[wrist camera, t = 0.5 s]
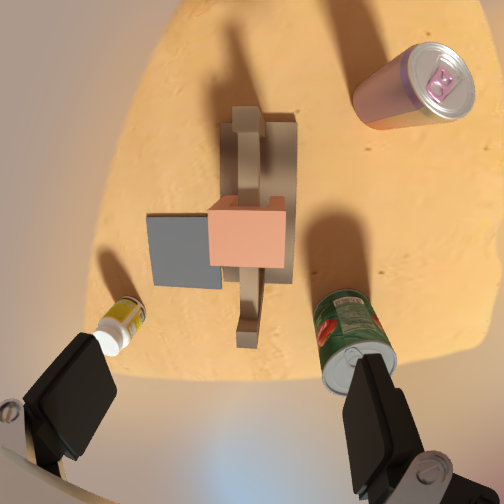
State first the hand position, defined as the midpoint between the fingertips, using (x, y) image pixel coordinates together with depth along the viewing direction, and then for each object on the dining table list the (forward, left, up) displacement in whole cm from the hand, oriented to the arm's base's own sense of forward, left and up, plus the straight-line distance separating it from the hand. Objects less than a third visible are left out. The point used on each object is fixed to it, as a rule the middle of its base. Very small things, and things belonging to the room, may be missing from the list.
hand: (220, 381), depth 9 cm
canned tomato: (+13, +11, -25) cm, 30 cm away
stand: (-1, 0, -25) cm, 25 cm away
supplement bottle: (+14, -18, -25) cm, 34 cm away
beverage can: (-13, +13, -25) cm, 31 cm away
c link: (-1, 0, -18) cm, 18 cm away
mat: (+5, -9, -25) cm, 27 cm away
